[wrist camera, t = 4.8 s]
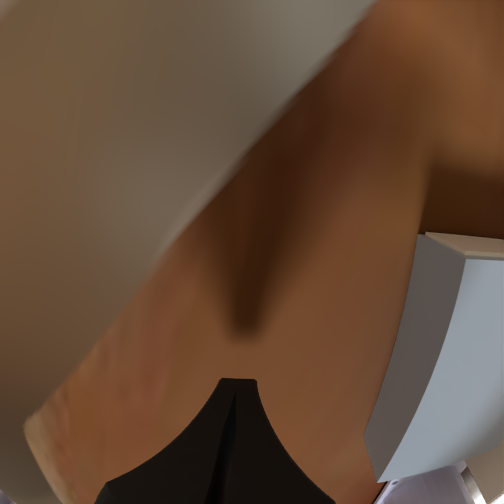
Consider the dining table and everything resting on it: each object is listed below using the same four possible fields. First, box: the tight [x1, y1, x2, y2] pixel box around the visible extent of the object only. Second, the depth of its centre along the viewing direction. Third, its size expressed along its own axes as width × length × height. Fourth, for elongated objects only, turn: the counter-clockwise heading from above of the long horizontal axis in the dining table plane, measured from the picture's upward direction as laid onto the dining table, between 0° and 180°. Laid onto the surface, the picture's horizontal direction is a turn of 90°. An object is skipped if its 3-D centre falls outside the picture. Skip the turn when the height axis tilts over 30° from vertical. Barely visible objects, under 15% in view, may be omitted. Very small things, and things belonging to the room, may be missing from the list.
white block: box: [363, 232, 504, 483], centre depth 11 cm, size 12×9×4 cm
